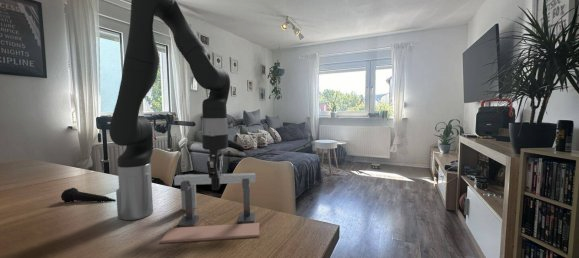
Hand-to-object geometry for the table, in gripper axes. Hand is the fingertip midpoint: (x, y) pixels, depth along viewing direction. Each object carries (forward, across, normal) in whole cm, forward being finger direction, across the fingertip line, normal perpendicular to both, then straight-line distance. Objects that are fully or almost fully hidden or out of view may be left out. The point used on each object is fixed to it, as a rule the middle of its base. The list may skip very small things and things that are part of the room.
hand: (216, 188), depth 75 cm
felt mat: (+11, +7, 0) cm, 13 cm away
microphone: (+12, -23, -53) cm, 59 cm away
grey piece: (+11, -12, -12) cm, 20 cm away
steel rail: (-2, 0, 0) cm, 2 cm away
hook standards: (+11, 0, 0) cm, 11 cm away
